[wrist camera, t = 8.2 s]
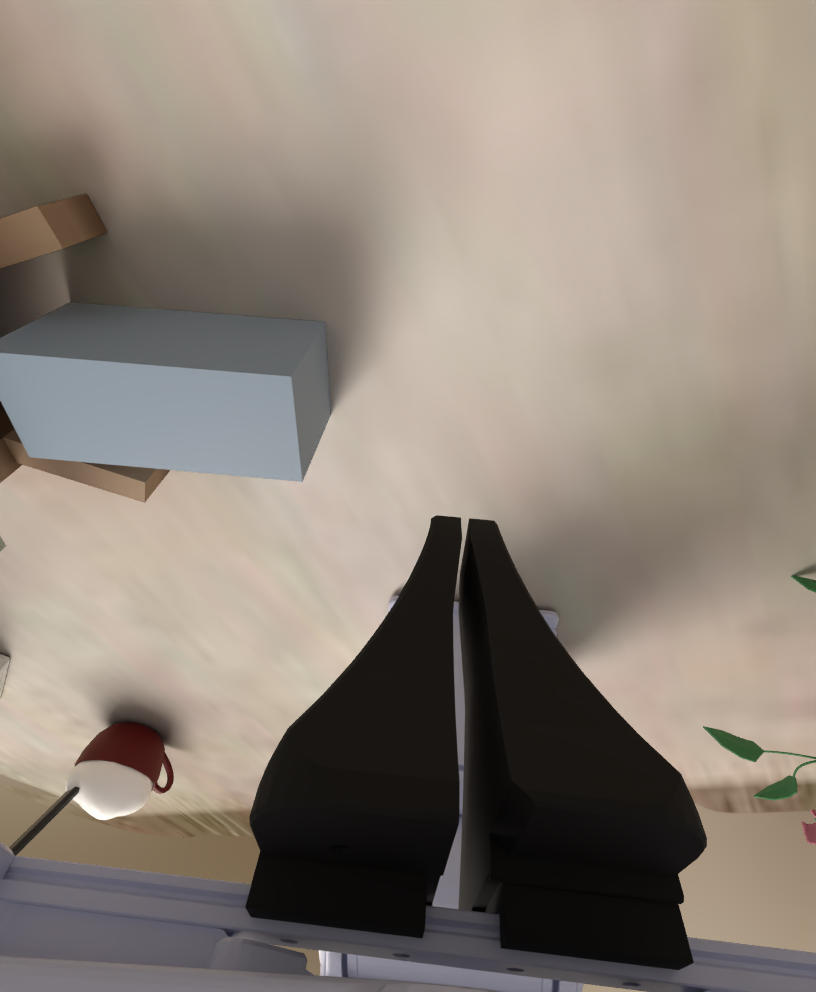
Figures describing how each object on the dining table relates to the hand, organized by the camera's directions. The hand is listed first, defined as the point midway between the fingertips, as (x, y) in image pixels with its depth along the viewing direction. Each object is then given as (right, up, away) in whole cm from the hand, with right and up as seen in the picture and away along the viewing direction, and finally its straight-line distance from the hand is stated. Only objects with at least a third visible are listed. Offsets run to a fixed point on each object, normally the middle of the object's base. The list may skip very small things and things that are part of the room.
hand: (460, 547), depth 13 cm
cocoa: (-24, -18, +30) cm, 42 cm away
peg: (-10, +7, +8) cm, 14 cm away
